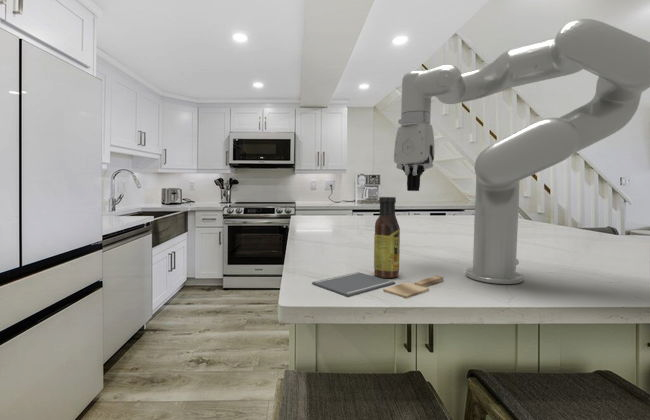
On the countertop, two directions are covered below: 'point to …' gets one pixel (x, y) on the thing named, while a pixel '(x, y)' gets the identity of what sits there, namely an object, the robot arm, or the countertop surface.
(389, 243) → the sauce bottle
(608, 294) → the countertop surface
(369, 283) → the mat
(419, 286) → the turner
